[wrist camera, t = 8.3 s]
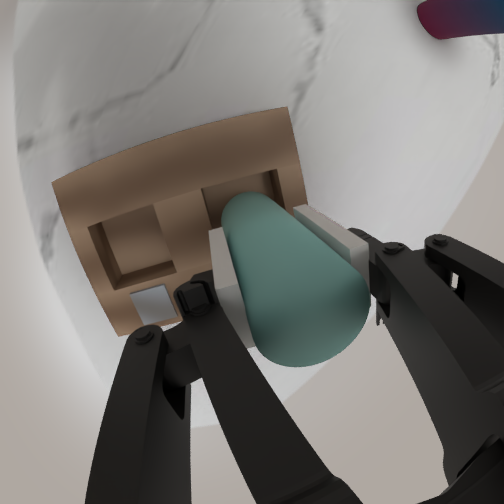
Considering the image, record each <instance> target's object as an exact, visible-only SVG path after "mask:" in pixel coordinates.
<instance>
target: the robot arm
mask: <svg viewBox="0 0 504 504" xmlns="http://www.w3.org/2000/svg"><path fill="white" fill-rule="evenodd" d="M293 210H294V215H295V219H297V220H298V221H299V222H300V223H301V224H303V225H304V226H305V227H306V228H308V229H309V230H310V231H311V232H312V233H314V234H315V235H316V236H317V237H318V238H320V239H321V240H322V241H323V242H324V243H326V244H327V245H328V246H329V247H330V248H331V249H333V250H334V251H335V252H336V253H337V254H338V255H340V256H341V257H342V258H343V259H344V260H345V261H347V262H348V263H349V264H350V265H351V266H352V267H354V268H355V269H356V270H357V271H358V272H359V273H360V274H361V275H362V276H363V278H364V279H365V281H366V283H367V286H368V288H369V292H370V306H371V294H372V295H373V296H374V297H375V298H376V323H377V326H378V325H379V323H380V322H379V321H380V319H381V318H382V320H383V324H385V326H386V327H387V329H388V331H389V333H390V335H391V337H392V339H393V341H394V342H395V344H396V346H397V348H398V350H399V352H400V354H401V356H402V358H403V360H404V362H405V364H406V366H407V367H408V370H409V372H410V374H411V376H412V378H413V380H414V382H415V384H416V386H417V388H418V390H419V393H420V394H421V397H422V399H423V401H424V403H425V406H426V408H427V410H428V412H429V415H430V417H431V419H432V421H433V424H434V426H435V428H436V431H437V433H438V436H439V438H440V441H441V443H442V446H443V449H444V459H443V468H444V472H445V476H446V479H447V482H448V485H449V487H448V488H447V489H446V490H444V491H443V492H442V493H441V494H440V495H439V496H437V497H435V498H432V499H429V500H426V501H423V502H421V503H418V504H504V263H502V262H500V261H498V260H496V259H494V258H492V257H490V256H489V255H487V254H485V253H482V252H481V251H479V250H477V249H475V248H473V247H470V246H468V245H466V244H464V243H462V242H460V241H458V240H456V239H454V238H452V237H449V236H446V235H442V234H434V235H432V236H429V237H427V238H426V239H425V245H424V249H420V250H414V251H412V250H411V249H409V248H408V247H407V246H406V245H404V244H402V243H398V242H387V243H382V242H380V241H379V240H377V239H376V238H374V237H372V236H371V235H369V234H367V233H366V232H364V231H362V230H360V229H356V228H349V229H346V228H344V227H342V226H341V225H339V224H338V223H336V222H334V221H333V220H331V219H330V218H328V217H326V216H325V215H323V214H322V213H320V212H318V211H317V210H315V209H313V208H312V207H310V206H308V205H307V204H304V205H300V206H296V207H293ZM209 241H210V250H211V259H212V268H213V269H211V270H208V271H205V272H201V273H198V274H194V275H193V277H192V278H191V279H190V281H187V282H185V283H183V284H181V285H180V286H179V287H177V288H176V290H175V291H174V292H173V297H174V300H175V302H176V304H177V307H178V309H179V311H180V314H181V316H182V319H183V321H182V322H181V323H179V324H178V325H176V326H175V327H173V328H171V329H169V330H166V331H164V332H163V330H162V328H161V327H159V326H158V325H154V324H153V325H146V326H143V327H140V328H138V329H136V330H135V331H134V332H133V333H132V334H131V335H129V337H128V339H127V341H126V344H125V346H124V349H123V352H122V355H121V359H120V362H119V365H118V368H117V371H116V374H115V377H114V381H113V384H112V387H111V391H110V394H109V398H108V401H107V405H106V409H105V412H104V416H103V420H102V424H101V427H100V432H99V436H98V439H97V444H96V448H95V452H94V457H93V461H92V466H91V471H90V476H89V481H88V487H87V492H86V499H85V504H192V503H191V474H190V473H191V471H190V470H191V468H190V413H191V384H190V383H192V382H194V381H196V380H198V379H200V378H202V379H203V381H204V384H205V387H206V389H207V392H208V395H209V397H210V400H211V403H212V405H213V408H214V410H215V413H216V415H217V418H218V420H219V423H220V425H221V428H222V430H223V432H224V435H225V437H226V439H227V442H228V444H229V446H230V449H231V451H232V453H233V455H234V457H235V460H236V462H237V464H238V466H239V468H240V471H241V473H242V475H243V477H244V479H245V481H246V483H247V485H248V487H249V489H250V492H251V494H252V496H253V498H254V500H255V501H256V504H363V503H362V502H361V501H360V499H359V498H358V497H357V496H356V494H355V493H354V492H353V491H352V490H351V489H350V487H349V486H348V485H347V484H346V483H345V482H344V481H343V480H342V479H340V478H338V477H336V476H334V475H333V474H332V473H331V472H330V471H329V470H328V468H327V467H326V466H325V465H324V463H323V462H322V460H321V459H320V458H319V456H318V455H317V454H316V452H315V451H314V449H313V448H312V446H311V445H310V444H309V442H308V441H307V439H306V438H305V437H304V435H303V434H302V432H301V431H300V429H299V428H298V427H297V425H296V424H295V422H294V421H293V419H292V418H291V416H290V415H289V414H288V412H287V410H286V409H285V407H284V406H283V405H282V403H281V402H280V400H279V398H278V397H277V395H276V394H275V392H274V391H273V389H272V388H271V386H270V385H269V383H268V382H267V380H266V379H265V377H264V376H263V374H262V372H261V371H260V369H259V368H258V366H257V365H256V363H255V361H254V360H253V358H252V357H251V355H250V353H249V352H248V350H247V348H251V347H254V346H256V345H255V343H254V341H253V338H252V334H251V331H250V327H249V324H248V320H247V316H246V311H245V305H244V302H243V298H242V295H241V291H240V288H239V284H238V281H237V277H236V274H235V270H234V267H233V263H232V260H231V256H230V252H229V249H228V245H227V242H226V238H225V235H224V231H223V228H222V227H220V228H217V229H213V230H210V231H209ZM453 273H455V274H457V275H458V276H459V277H458V284H457V288H453V287H452V286H451V284H452V277H453Z"/></svg>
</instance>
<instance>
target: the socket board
mask: <svg viewBox="0 0 504 504" xmlns="http://www.w3.org/2000/svg"><path fill="white" fill-rule="evenodd" d="M52 186H53V189H54V192H55V195H56V198H57V202H58V205H59V207H60V210H61V213H62V216H63V219H64V222H65V224H66V227H67V230H68V232H69V235H70V237H71V240H72V242H73V245H74V247H75V250H76V252H77V255H78V257H79V259H80V262H81V264H82V266H83V268H84V271H85V273H86V275H87V277H88V279H89V281H90V284H91V286H92V288H93V290H94V292H95V294H96V296H97V298H98V300H99V302H100V304H101V306H102V308H103V310H104V312H105V313H106V315H107V317H108V319H109V321H110V323H111V325H112V326H113V328H114V330H115V332H116V333H117V335H118V337H119V336H123V335H128V334H132V333H133V332H134V331H135V330H136V329H138V328H140V327H143V326H146V325H153V324H154V325H158V326H159V327H161V326H165V325H169V324H173V323H177V322H180V321H183V319H182V316H181V314H180V311H179V309H178V307H177V304H176V302H175V300H174V297H173V292H174V291H175V290H176V288H177V287H179V286H180V285H181V284H183V283H185V282H187V281H190V279H191V278H192V277H193V275H194V274H198V273H201V272H205V271H208V270H211V269H213V268H212V259H211V250H210V241H209V231H210V230H213V229H217V228H220V227H222V225H221V217H222V213H223V210H224V208H225V206H226V205H227V203H228V202H229V201H230V200H231V199H232V198H233V197H235V196H236V195H238V194H241V193H244V192H250V191H252V192H259V193H262V194H264V195H266V196H268V197H269V198H270V199H272V200H273V201H274V202H275V203H277V204H278V205H279V206H280V207H282V208H283V209H284V210H285V211H287V212H288V213H289V214H290V215H292V216H293V217H294V218H295V215H294V210H293V207H296V206H300V205H304V204H307V205H308V202H307V197H306V192H305V186H304V181H303V176H302V171H301V166H300V161H299V156H298V152H297V147H296V142H295V138H294V133H293V129H292V125H291V120H290V116H289V112H288V108H287V107H282V108H276V109H271V110H266V111H260V112H256V113H251V114H246V115H241V116H237V117H233V118H228V119H224V120H220V121H216V122H212V123H209V124H205V125H201V126H198V127H194V128H190V129H187V130H184V131H180V132H177V133H174V134H170V135H167V136H164V137H161V138H158V139H155V140H152V141H149V142H146V143H143V144H141V145H138V146H135V147H132V148H129V149H127V150H124V151H121V152H119V153H116V154H114V155H111V156H109V157H106V158H104V159H101V160H99V161H97V162H94V163H92V164H90V165H87V166H85V167H83V168H80V169H78V170H76V171H74V172H72V173H70V174H67V175H65V176H63V177H61V178H59V179H57V180H55V181H53V182H52Z"/></svg>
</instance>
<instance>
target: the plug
mask: <svg viewBox="0 0 504 504" xmlns="http://www.w3.org/2000/svg"><path fill="white" fill-rule="evenodd" d="M221 225H222V228H223V231H224V235H225V238H226V242H227V245H228V249H229V252H230V256H231V260H232V263H233V267H234V270H235V274H236V277H237V281H238V284H239V288H240V291H241V295H242V298H243V302H244V305H245V311H246V316H247V320H248V324H249V327H250V331H251V334H252V338H253V341H254V343H255V345H256V347H257V349H258V350H259V351H260V353H261V354H262V355H263V356H264V357H266V358H267V359H268V360H270V361H272V362H274V363H276V364H279V365H283V366H287V367H306V366H311V365H315V364H318V363H321V362H324V361H326V360H328V359H330V358H332V357H334V356H335V355H337V354H338V353H340V352H341V351H343V350H344V349H345V348H346V347H347V346H348V345H350V343H351V342H352V341H353V340H354V339H355V338H356V337H357V335H358V334H359V333H360V331H361V329H362V328H363V326H364V324H365V322H366V319H367V316H368V313H369V308H370V292H369V288H368V286H367V283H366V281H365V279H364V278H363V276H362V275H361V274H360V273H359V272H358V271H357V270H356V269H355V268H354V267H352V266H351V265H350V264H349V263H348V262H347V261H345V260H344V259H343V258H342V257H341V256H340V255H338V254H337V253H336V252H335V251H334V250H333V249H331V248H330V247H329V246H328V245H327V244H326V243H324V242H323V241H322V240H321V239H320V238H318V237H317V236H316V235H315V234H314V233H312V232H311V231H310V230H309V229H308V228H306V227H305V226H304V225H303V224H301V223H300V222H299V221H298V220H297V219H295V218H294V217H293V216H292V215H290V214H289V213H288V212H287V211H285V210H284V209H283V208H282V207H280V206H279V205H278V204H277V203H275V202H274V201H273V200H272V199H270V198H269V197H268V196H266V195H264V194H262V193H259V192H252V191H250V192H244V193H241V194H238V195H236V196H235V197H233V198H232V199H231V200H230V201H229V202H228V203H227V205H226V206H225V208H224V210H223V213H222V217H221Z"/></svg>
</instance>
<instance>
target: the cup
mask: <svg viewBox="0 0 504 504" xmlns="http://www.w3.org/2000/svg"><path fill="white" fill-rule="evenodd" d="M417 13H418V17H419V19H420V21H421V23H422V25H423V27H424V28H425V29H426V30H427V31H428V33H430V34H431V35H432V36H433V37H435V38H437V39H440V40H441V39H449V38H456V37H463V36H472V35H483V34H499V33H504V0H427V1H425V2H423V3H421V4H420V5H419V6H418V9H417Z"/></svg>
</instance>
